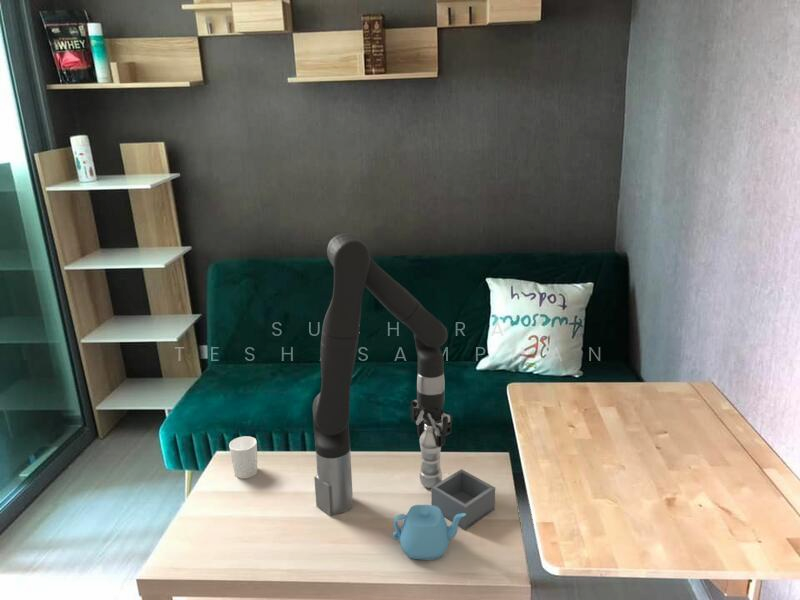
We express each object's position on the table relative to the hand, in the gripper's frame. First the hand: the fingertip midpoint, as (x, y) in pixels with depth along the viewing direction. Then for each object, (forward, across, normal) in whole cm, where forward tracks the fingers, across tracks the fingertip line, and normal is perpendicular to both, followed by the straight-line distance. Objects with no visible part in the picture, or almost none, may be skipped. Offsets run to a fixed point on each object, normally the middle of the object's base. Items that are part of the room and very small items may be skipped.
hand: (430, 440), depth 177 cm
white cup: (+14, -43, -35) cm, 57 cm away
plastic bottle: (+15, 0, 0) cm, 15 cm away
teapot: (+15, +18, -19) cm, 30 cm away
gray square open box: (+14, +14, -2) cm, 20 cm away
